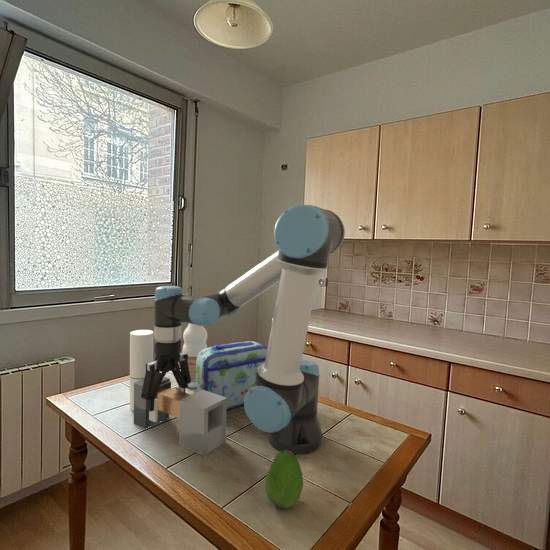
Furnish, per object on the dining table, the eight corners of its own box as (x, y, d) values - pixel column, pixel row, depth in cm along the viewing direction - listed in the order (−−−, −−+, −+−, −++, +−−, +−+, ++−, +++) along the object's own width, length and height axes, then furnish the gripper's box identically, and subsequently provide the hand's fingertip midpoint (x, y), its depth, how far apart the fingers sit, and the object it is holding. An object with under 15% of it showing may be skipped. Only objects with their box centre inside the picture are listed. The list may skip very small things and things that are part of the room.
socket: (169, 417, 116) (169, 378, 115) (145, 429, 108) (145, 387, 107) (157, 412, 119) (157, 374, 118) (133, 423, 111) (133, 382, 110)
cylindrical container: (156, 403, 126) (157, 330, 123) (147, 412, 118) (147, 335, 116) (136, 401, 126) (136, 329, 124) (125, 410, 119) (125, 334, 117)
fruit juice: (179, 380, 146) (180, 310, 144) (203, 377, 150) (204, 309, 148) (184, 389, 138) (185, 315, 135) (209, 386, 141) (211, 314, 139)
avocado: (294, 522, 74) (297, 465, 73) (259, 510, 77) (261, 455, 76) (306, 497, 82) (309, 445, 81) (273, 487, 85) (275, 437, 84)
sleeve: (225, 441, 103) (226, 397, 102) (203, 456, 96) (204, 409, 95) (202, 431, 108) (202, 389, 107) (178, 444, 101) (179, 399, 100)
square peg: (208, 419, 105) (208, 394, 105) (189, 429, 99) (189, 403, 99) (158, 400, 117) (159, 377, 116) (139, 408, 111) (139, 384, 110)
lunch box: (204, 418, 116) (205, 352, 115) (192, 404, 125) (193, 344, 123) (274, 401, 131) (276, 343, 129) (258, 390, 140) (260, 335, 138)
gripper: (186, 330, 119) (185, 398, 121) (126, 345, 100) (126, 424, 102) (204, 334, 115) (202, 404, 117) (144, 350, 96) (143, 433, 98)
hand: (166, 414), depth 109 cm, fingers open, 9 cm apart
